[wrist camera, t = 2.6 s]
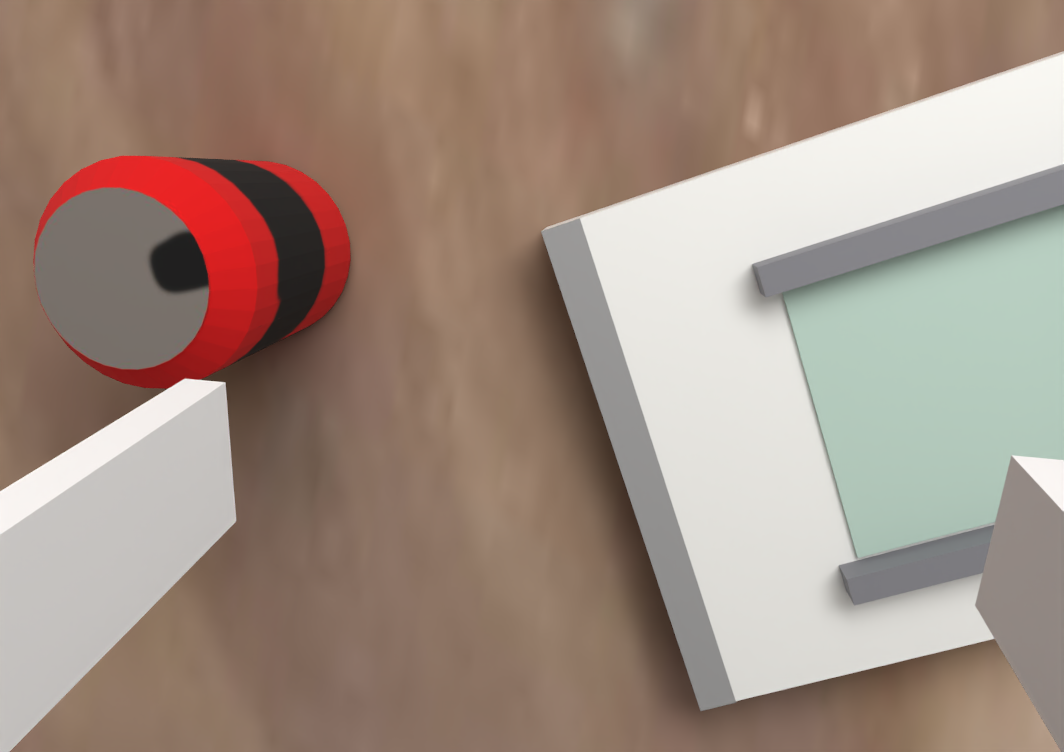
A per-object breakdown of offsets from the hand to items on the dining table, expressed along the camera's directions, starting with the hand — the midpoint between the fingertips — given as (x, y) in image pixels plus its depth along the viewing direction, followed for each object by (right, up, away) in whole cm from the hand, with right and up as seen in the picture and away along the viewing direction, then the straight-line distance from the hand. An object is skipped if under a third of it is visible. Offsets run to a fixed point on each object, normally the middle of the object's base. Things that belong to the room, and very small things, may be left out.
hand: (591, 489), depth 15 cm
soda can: (-13, +8, +24) cm, 28 cm away
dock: (+15, +2, +23) cm, 27 cm away
